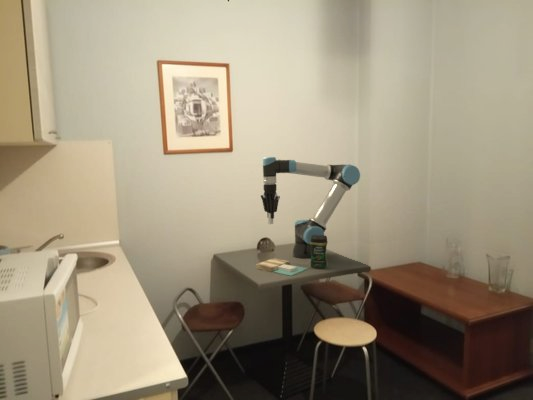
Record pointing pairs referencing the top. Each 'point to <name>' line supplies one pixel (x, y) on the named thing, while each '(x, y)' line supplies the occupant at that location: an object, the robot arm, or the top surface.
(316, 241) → the coffee jar
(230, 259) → the top surface
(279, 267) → the card
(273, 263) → the tan flat block
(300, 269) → the mat
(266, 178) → the robot arm
